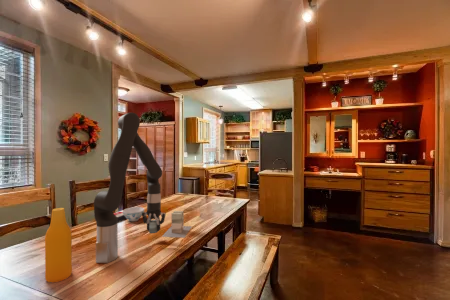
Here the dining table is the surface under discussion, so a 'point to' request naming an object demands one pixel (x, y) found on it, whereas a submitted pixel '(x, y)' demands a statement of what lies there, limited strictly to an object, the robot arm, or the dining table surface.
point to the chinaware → (133, 213)
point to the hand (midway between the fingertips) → (153, 230)
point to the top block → (178, 217)
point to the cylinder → (153, 226)
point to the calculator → (119, 216)
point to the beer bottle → (58, 248)
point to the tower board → (182, 234)
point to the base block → (177, 227)
